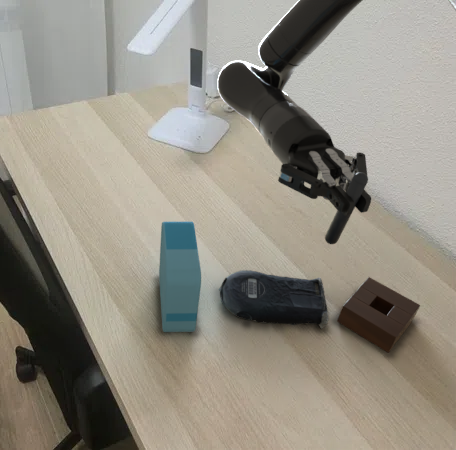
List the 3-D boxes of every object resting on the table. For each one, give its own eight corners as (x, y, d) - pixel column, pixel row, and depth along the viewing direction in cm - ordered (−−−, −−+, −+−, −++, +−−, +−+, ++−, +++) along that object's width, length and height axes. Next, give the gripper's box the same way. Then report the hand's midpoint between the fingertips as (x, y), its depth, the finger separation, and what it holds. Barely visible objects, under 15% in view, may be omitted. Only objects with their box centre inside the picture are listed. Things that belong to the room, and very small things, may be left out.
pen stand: (362, 292, 85) (368, 276, 83) (412, 320, 81) (420, 304, 79) (336, 321, 80) (342, 305, 78) (388, 353, 76) (396, 337, 74)
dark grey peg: (327, 235, 78) (360, 167, 68) (338, 242, 77) (373, 174, 68) (320, 241, 77) (352, 173, 67) (331, 249, 76) (365, 181, 67)
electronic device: (312, 289, 87) (219, 272, 86) (325, 269, 83) (228, 250, 82) (316, 341, 81) (217, 323, 80) (331, 322, 77) (226, 302, 76)
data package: (194, 336, 77) (202, 277, 70) (162, 337, 77) (166, 277, 69) (187, 275, 87) (193, 216, 79) (158, 275, 86) (161, 216, 78)
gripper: (255, 120, 78) (317, 193, 65) (340, 109, 81) (415, 176, 69) (247, 164, 83) (304, 239, 70) (328, 151, 86) (395, 222, 74)
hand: (358, 208), depth 69 cm, fingers closed on dark grey peg, 2 cm apart
